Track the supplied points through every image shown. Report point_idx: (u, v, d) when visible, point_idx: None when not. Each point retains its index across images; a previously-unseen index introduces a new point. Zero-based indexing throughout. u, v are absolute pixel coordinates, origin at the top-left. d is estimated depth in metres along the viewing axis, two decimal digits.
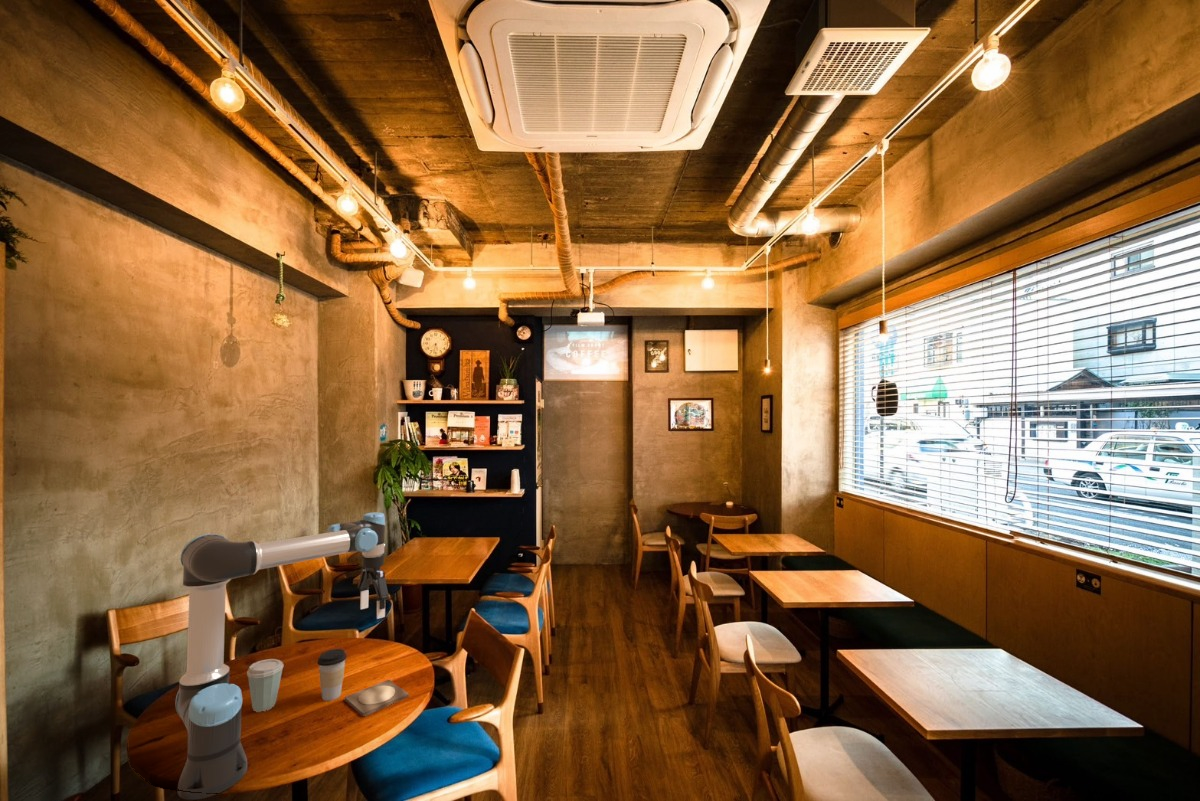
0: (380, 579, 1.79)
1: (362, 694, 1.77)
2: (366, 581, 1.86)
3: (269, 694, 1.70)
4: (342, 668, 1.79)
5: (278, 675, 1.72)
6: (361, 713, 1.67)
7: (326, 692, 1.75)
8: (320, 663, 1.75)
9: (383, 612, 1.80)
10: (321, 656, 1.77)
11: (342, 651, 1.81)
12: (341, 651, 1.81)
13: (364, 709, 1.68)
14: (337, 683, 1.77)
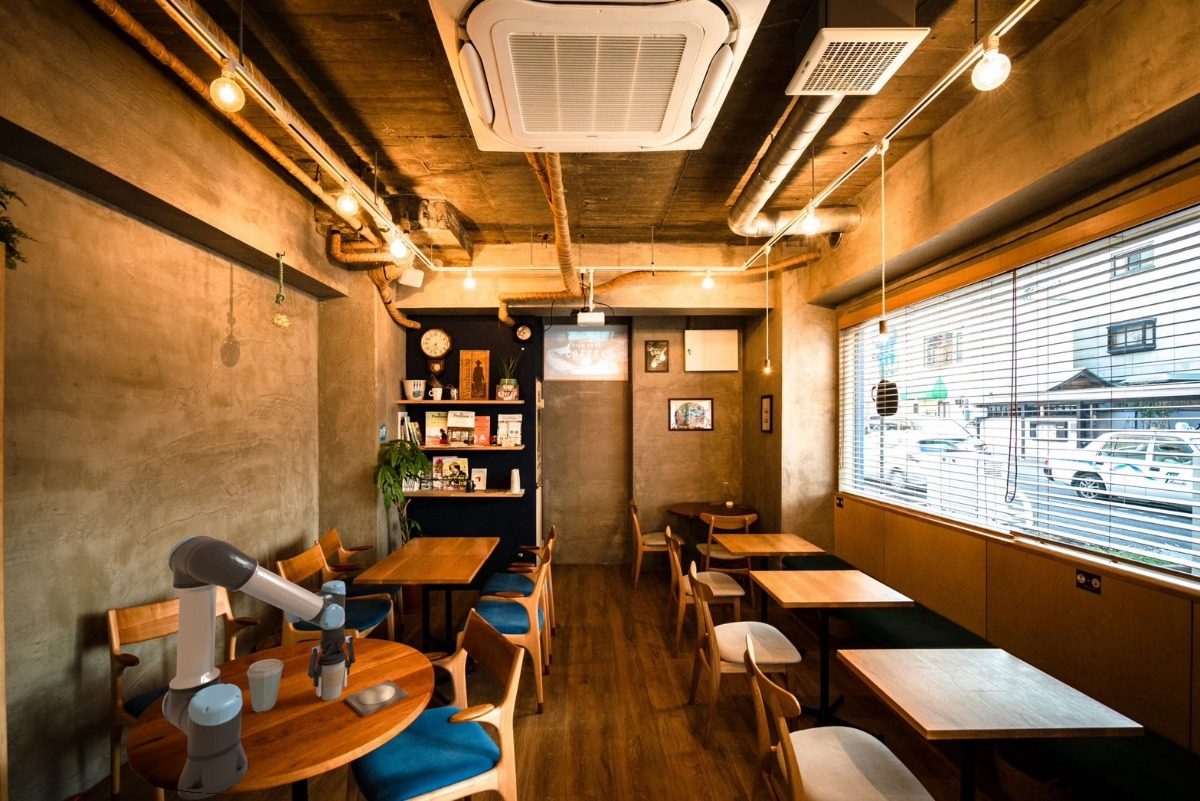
0: (312, 655, 1.75)
1: (362, 694, 1.77)
2: None
3: (269, 694, 1.70)
4: (342, 668, 1.79)
5: (278, 675, 1.72)
6: (361, 713, 1.67)
7: (326, 692, 1.75)
8: (320, 663, 1.75)
9: (318, 691, 1.75)
10: None
11: None
12: None
13: (364, 709, 1.68)
14: (337, 683, 1.77)
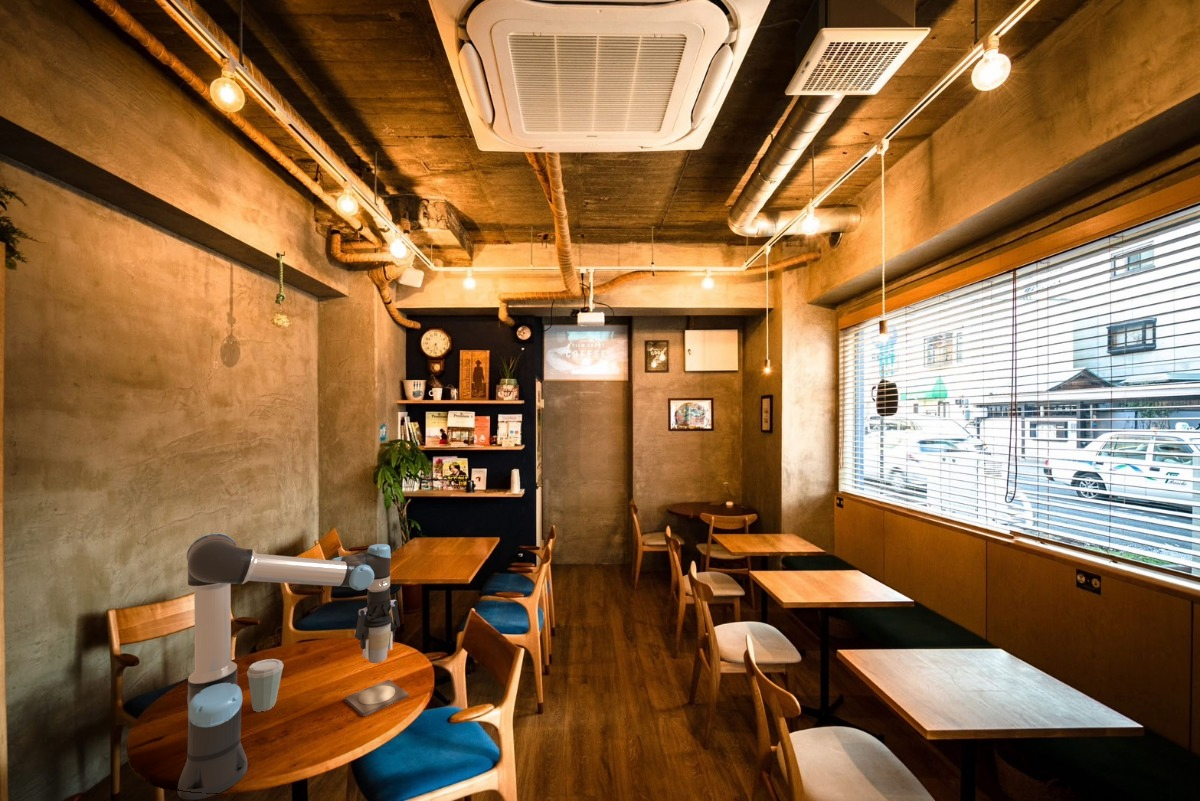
0: (359, 617, 1.74)
1: (362, 694, 1.77)
2: None
3: (269, 694, 1.70)
4: (388, 631, 1.78)
5: (278, 675, 1.72)
6: (361, 713, 1.67)
7: (373, 654, 1.74)
8: (367, 625, 1.74)
9: (365, 653, 1.74)
10: (367, 619, 1.76)
11: None
12: None
13: (364, 709, 1.68)
14: (384, 645, 1.76)
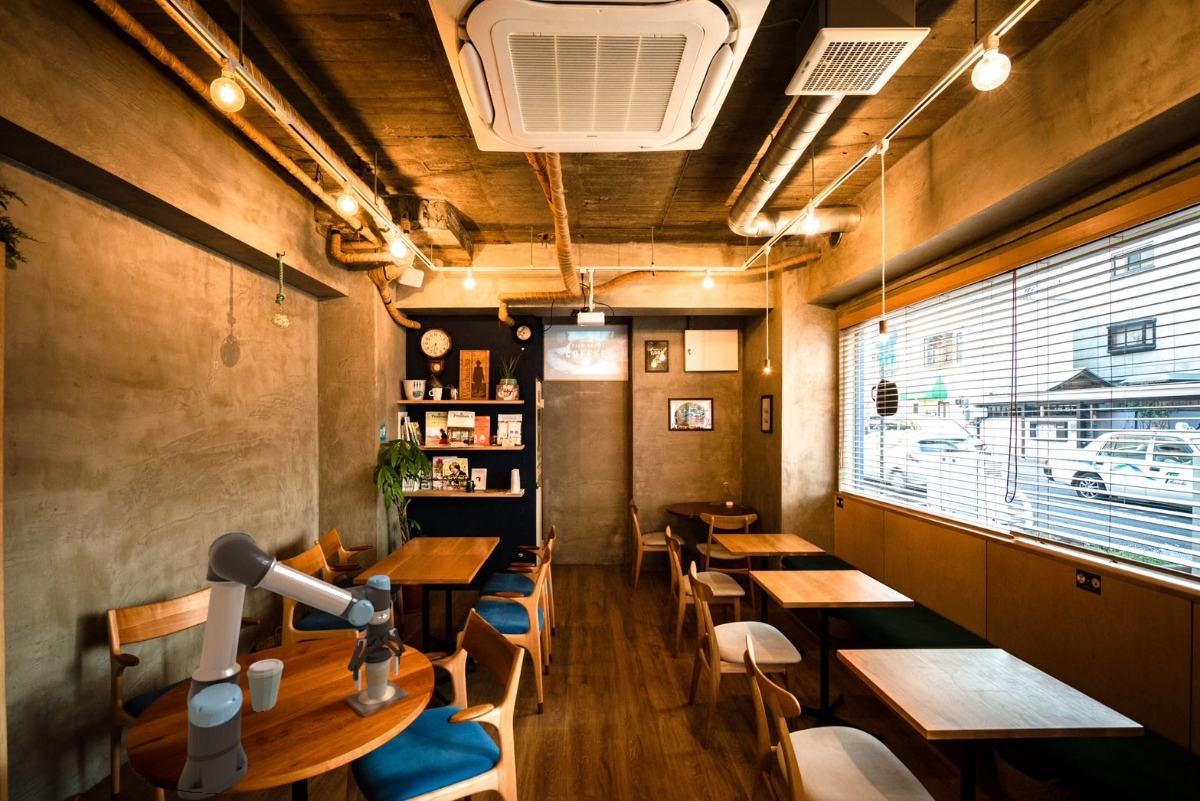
0: (356, 648, 1.73)
1: (362, 694, 1.77)
2: (387, 645, 1.81)
3: (269, 694, 1.70)
4: (388, 666, 1.77)
5: (278, 675, 1.72)
6: (361, 713, 1.67)
7: (372, 690, 1.74)
8: (366, 661, 1.74)
9: (358, 685, 1.72)
10: None
11: (387, 649, 1.80)
12: (386, 649, 1.80)
13: (364, 709, 1.68)
14: (383, 681, 1.75)
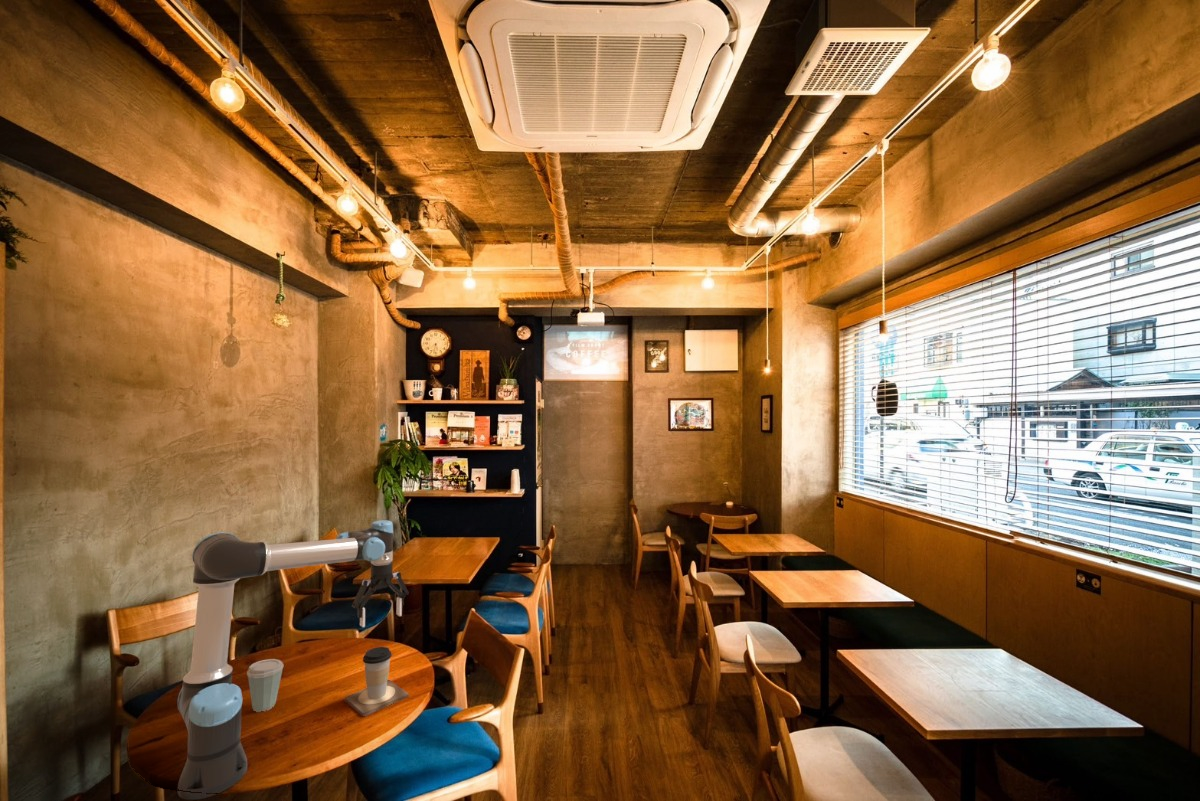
0: (361, 587, 1.81)
1: (362, 694, 1.77)
2: (390, 587, 1.89)
3: (269, 694, 1.70)
4: (387, 666, 1.77)
5: (278, 675, 1.72)
6: (361, 713, 1.67)
7: (372, 690, 1.74)
8: (366, 661, 1.73)
9: (362, 622, 1.79)
10: (367, 654, 1.76)
11: (387, 649, 1.79)
12: (386, 649, 1.79)
13: (364, 709, 1.68)
14: (383, 681, 1.75)
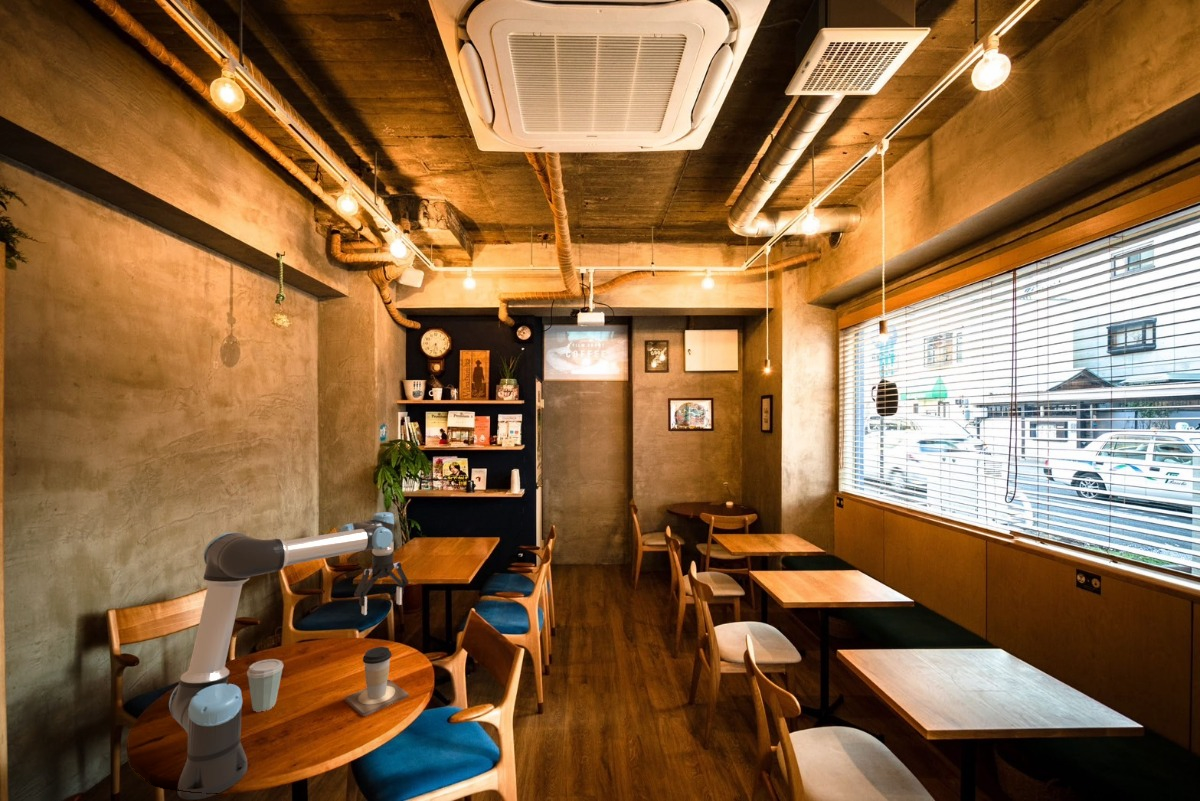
0: (363, 576, 1.87)
1: (362, 694, 1.77)
2: (391, 577, 1.95)
3: (269, 694, 1.70)
4: (387, 666, 1.77)
5: (278, 675, 1.72)
6: (361, 713, 1.67)
7: (372, 690, 1.74)
8: (366, 661, 1.73)
9: (364, 610, 1.85)
10: (366, 654, 1.76)
11: (387, 649, 1.79)
12: (386, 649, 1.79)
13: (364, 709, 1.68)
14: (383, 681, 1.75)
